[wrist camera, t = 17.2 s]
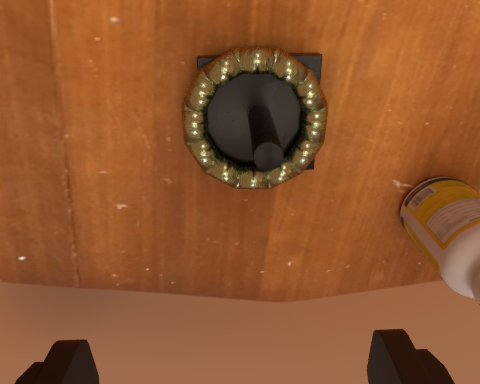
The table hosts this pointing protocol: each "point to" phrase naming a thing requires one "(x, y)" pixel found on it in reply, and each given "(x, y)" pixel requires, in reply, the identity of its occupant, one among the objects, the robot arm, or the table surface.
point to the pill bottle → (447, 230)
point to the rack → (257, 116)
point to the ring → (228, 70)
